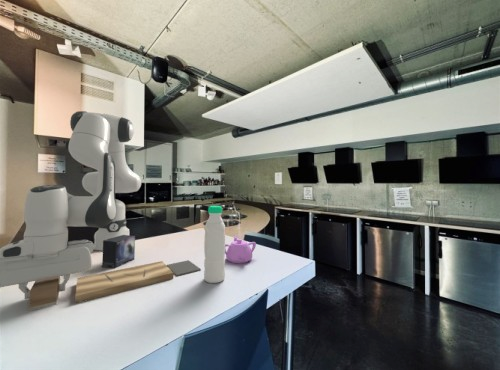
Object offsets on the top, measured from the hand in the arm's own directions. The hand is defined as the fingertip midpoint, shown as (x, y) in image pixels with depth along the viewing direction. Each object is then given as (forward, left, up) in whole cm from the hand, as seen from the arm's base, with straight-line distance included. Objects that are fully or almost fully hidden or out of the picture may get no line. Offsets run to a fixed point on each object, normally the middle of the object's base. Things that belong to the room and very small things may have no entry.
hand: (45, 294), depth 58 cm
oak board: (0, +20, -2) cm, 20 cm away
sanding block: (0, 0, -2) cm, 2 cm away
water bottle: (+16, +44, -2) cm, 46 cm away
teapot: (+5, +62, -2) cm, 62 cm away
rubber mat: (0, +39, -2) cm, 39 cm away
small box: (-21, +20, -2) cm, 29 cm away
